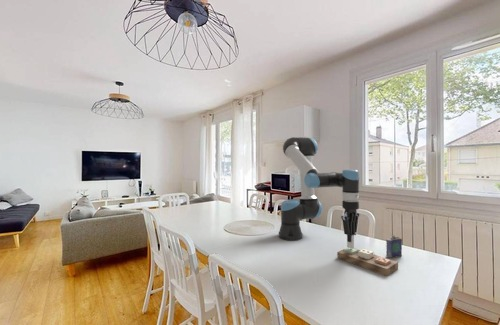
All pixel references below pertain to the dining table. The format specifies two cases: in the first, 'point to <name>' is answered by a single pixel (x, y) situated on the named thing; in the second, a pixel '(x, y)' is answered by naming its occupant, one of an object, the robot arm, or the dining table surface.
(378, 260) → the three-pip tile
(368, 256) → the tile
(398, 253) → the flask
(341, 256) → the board
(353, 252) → the tile
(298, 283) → the dining table surface
